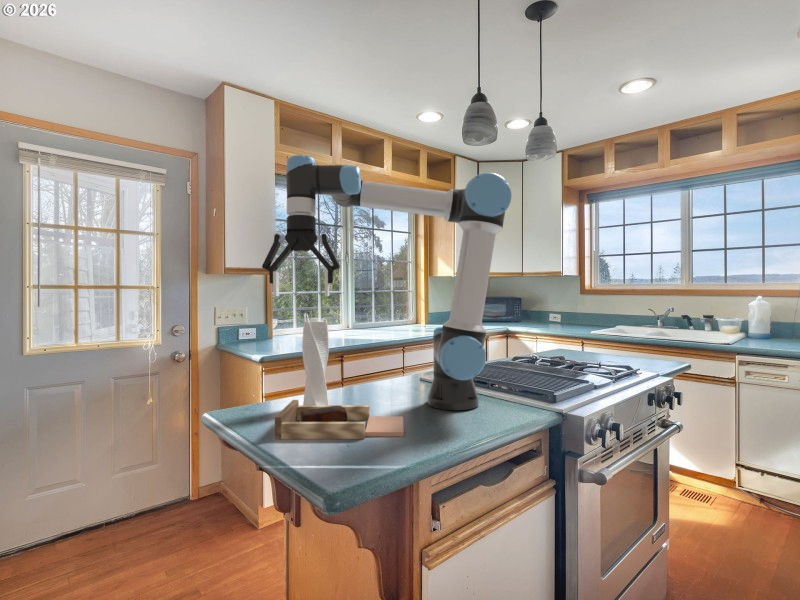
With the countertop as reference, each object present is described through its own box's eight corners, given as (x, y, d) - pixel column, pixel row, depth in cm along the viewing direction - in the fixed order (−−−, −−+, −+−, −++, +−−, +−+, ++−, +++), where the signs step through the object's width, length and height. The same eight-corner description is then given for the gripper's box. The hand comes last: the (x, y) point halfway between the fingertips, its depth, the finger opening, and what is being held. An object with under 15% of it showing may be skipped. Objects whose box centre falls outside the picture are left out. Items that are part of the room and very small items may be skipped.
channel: (369, 418, 114) (369, 399, 114) (364, 438, 98) (364, 417, 98) (292, 418, 114) (292, 399, 114) (274, 439, 98) (274, 417, 98)
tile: (403, 420, 113) (403, 416, 113) (403, 436, 100) (403, 432, 100) (369, 420, 113) (369, 416, 113) (364, 436, 100) (364, 432, 100)
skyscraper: (296, 410, 122) (295, 312, 122) (310, 404, 129) (310, 311, 129) (319, 413, 119) (319, 313, 119) (333, 407, 126) (333, 312, 126)
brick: (303, 434, 100) (302, 415, 100) (301, 428, 104) (300, 410, 104) (347, 427, 104) (347, 408, 104) (344, 421, 108) (343, 403, 107)
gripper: (349, 218, 117) (350, 296, 118) (259, 219, 117) (259, 296, 118) (346, 213, 110) (346, 296, 110) (249, 213, 110) (249, 296, 110)
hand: (301, 296), depth 114 cm, fingers open, 13 cm apart
